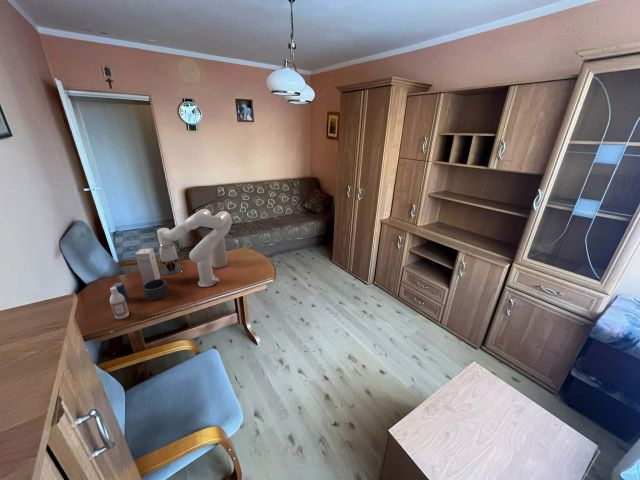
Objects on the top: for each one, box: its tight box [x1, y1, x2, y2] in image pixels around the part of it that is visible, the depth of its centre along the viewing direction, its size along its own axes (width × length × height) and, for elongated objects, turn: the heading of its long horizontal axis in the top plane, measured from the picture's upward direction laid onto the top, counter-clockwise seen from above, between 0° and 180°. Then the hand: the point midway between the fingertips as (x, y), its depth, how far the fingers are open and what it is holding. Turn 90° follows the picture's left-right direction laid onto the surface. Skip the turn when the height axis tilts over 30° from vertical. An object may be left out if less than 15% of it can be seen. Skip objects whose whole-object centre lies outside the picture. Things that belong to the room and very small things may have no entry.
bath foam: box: [109, 287, 130, 320], centre depth 156 cm, size 7×7×20 cm
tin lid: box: [159, 261, 184, 276], centre depth 190 cm, size 15×15×7 cm
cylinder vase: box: [211, 236, 229, 269], centre depth 216 cm, size 12×12×25 cm
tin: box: [142, 278, 170, 302], centre depth 178 cm, size 14×14×8 cm
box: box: [134, 247, 161, 285], centre depth 190 cm, size 8×8×25 cm
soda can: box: [110, 281, 129, 302], centre depth 172 cm, size 7×7×12 cm
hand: (171, 268), depth 190 cm, fingers closed on tin lid, 2 cm apart
